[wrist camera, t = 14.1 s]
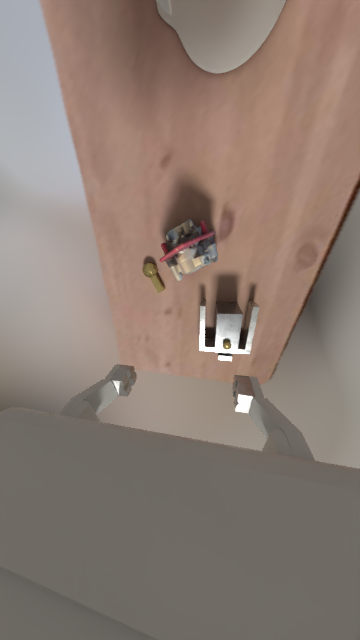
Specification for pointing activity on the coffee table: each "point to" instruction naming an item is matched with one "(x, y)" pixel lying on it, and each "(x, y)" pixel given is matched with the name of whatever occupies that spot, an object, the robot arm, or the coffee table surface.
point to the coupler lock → (227, 327)
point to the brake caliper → (189, 248)
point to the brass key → (153, 275)
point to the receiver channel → (243, 345)
